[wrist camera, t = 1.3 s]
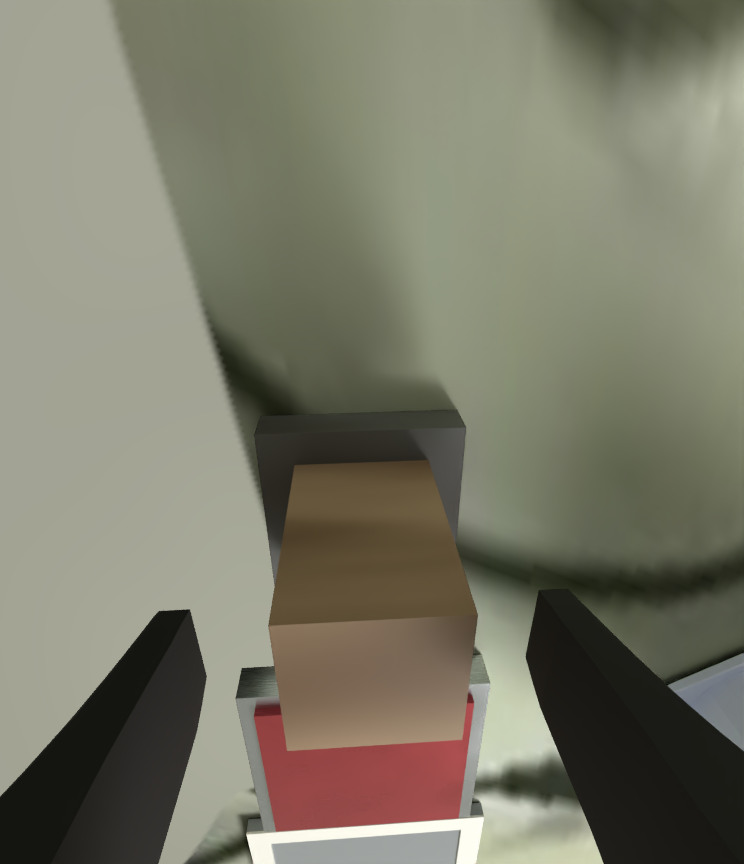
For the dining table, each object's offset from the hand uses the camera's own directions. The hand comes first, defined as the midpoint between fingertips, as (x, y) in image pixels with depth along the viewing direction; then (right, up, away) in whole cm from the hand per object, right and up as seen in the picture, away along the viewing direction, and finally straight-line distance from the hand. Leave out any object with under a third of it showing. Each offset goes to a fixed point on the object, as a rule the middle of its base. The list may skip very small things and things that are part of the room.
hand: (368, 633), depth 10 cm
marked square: (0, -19, +15) cm, 24 cm away
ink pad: (0, -8, +10) cm, 13 cm away
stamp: (0, +2, +5) cm, 5 cm away
